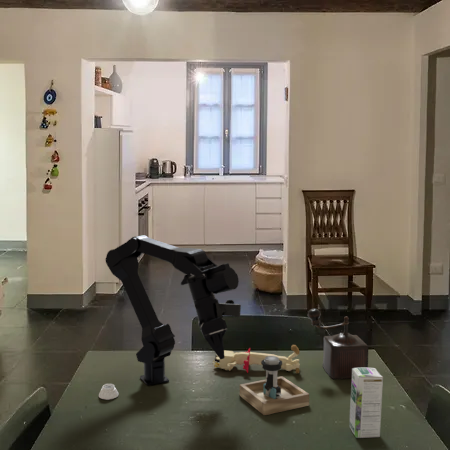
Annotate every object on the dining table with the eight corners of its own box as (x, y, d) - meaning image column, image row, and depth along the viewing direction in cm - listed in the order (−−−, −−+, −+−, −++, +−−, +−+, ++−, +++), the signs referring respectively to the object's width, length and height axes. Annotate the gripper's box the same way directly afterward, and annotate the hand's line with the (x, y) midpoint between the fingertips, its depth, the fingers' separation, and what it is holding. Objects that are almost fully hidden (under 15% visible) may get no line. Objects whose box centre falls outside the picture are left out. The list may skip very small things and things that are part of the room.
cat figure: (297, 368, 184) (213, 359, 186) (300, 340, 183) (216, 331, 184) (298, 381, 174) (210, 372, 176) (301, 352, 173) (213, 342, 175)
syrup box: (348, 426, 144) (350, 367, 142) (373, 426, 145) (375, 366, 143) (355, 438, 139) (357, 376, 137) (381, 437, 139) (383, 376, 137)
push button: (289, 398, 157) (290, 360, 156) (272, 403, 154) (273, 365, 153) (273, 389, 163) (273, 353, 161) (256, 394, 160) (257, 357, 158)
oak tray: (239, 395, 162) (239, 384, 161) (282, 386, 167) (282, 376, 167) (264, 415, 150) (264, 403, 150) (309, 405, 156) (309, 394, 155)
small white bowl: (122, 396, 161) (111, 391, 165) (122, 386, 161) (111, 380, 164) (105, 402, 158) (95, 396, 161) (105, 391, 157) (94, 385, 161)
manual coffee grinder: (355, 363, 184) (357, 305, 182) (368, 378, 174) (370, 316, 171) (304, 366, 182) (305, 307, 180) (314, 380, 171) (316, 318, 169)
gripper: (237, 289, 150) (255, 351, 149) (230, 287, 169) (246, 343, 168) (193, 302, 149) (211, 365, 148) (191, 299, 168) (207, 355, 167)
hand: (221, 356), depth 158 cm, fingers open, 9 cm apart
